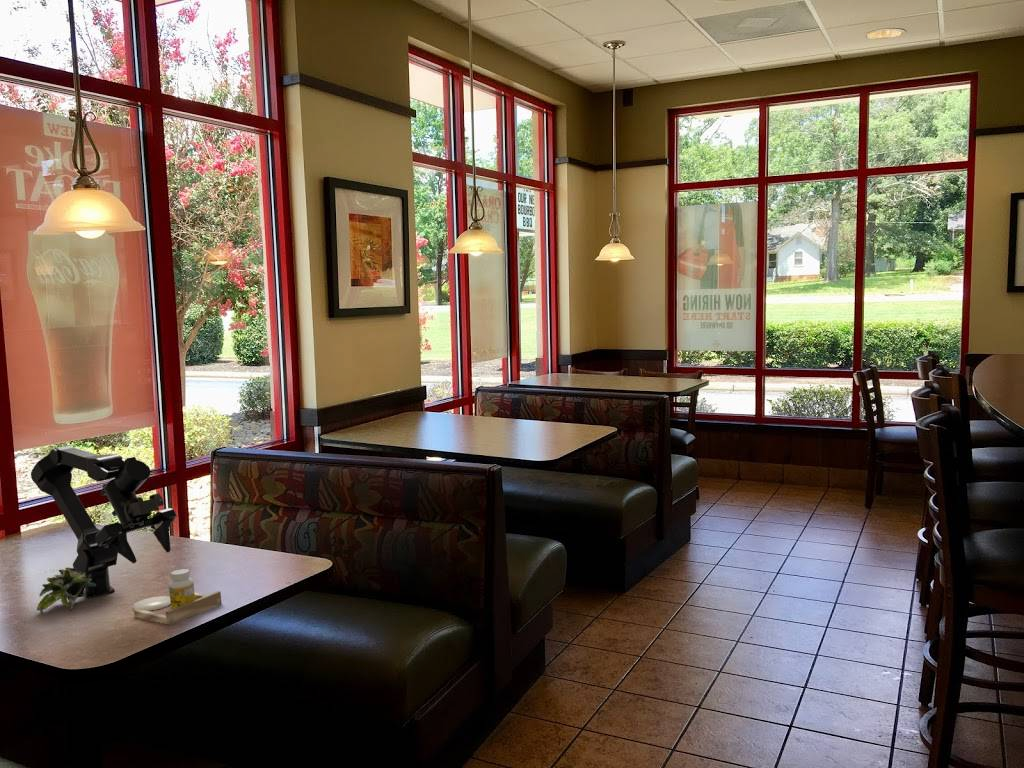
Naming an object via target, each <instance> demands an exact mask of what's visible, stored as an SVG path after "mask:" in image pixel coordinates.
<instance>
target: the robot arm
mask: <svg viewBox="0 0 1024 768" xmlns="http://www.w3.org/2000/svg"><path fill="white" fill-rule="evenodd" d="M74 469H77V470H81V471H83V472H85V473H87V477H88V478H89V479H91V480H93V481H95V482H97V483H98V482H103V481H108V480H109V481H108V482H106V483H104V484H102V488H101V491H100V496H102V497H103V496H106V497H107V498H108V501H109V502H110V505H111V506H112V508H113V511H112V512H111V515H112V516H113V517H117V518H118V519H117V520H118V521H116V522H113V523H109V524H105V525H104V526H103V527H101V528H100V529H98V528H97V526H96V525H95V523H94V521H93V520H92V518H91V516H90V514H89V513H88V512H87V510H86V508H85V506H84V505H83V502H82V501H81V500H80V498H79V497H78V495H77V494H76V491H75V490H74V488H73V487H72V480H73V479H72V478H73V474H72V472H73V470H74ZM150 475H151V469H150V467H149V465H147V464H146V463H145V462H144V461H141V460H139V459H137V458H136V456H130V457H127V458H126V459H125V458H123V457H122V456H121V455H120V454H117V453H115V454H114V453H113V454H112V453H108V454H107V453H106V454H96V453H93V452H90V451H87V450H82V449H79V448H76V447H74V446H72V445H64V446H60V447H55V448H53V449H51V450H50V452H49V453H48V454H47V455H45V456H44V457H43V458H41V459H40V460H39V461H37V462H36V463H35V465H34V466H33V468H32V469H31V472H30V478H31V480H32V482H34V484H35V485H36V487H37V488H38V489H39V491H41V492H43V493H44V494H47V495H49V496H51V497H52V498H53V500H54V502H55V504H56V505H57V507H58V509H59V511H60V512H61V514H62V515H63V517H64V519H65V520H66V522H67V524H68V525H69V527H70V528H71V531H72V532H73V534H74V535H75V537H76V539H77V543H76V544H77V545H76V546H77V547H76V553H77V556H76V558H75V559H74V561H73V563H72V568H76V569H77V572H78V571H81V573H83V572H86V575H87V576H86V577H88V576H89V575H90V574H91V577H90V579H92V580H91V581H90V582H93V583H96V586H95V587H86V588H85V589H84V591H83V593H84V595H83V596H84V597H86V598H87V599H88V598H93V597H97V596H101V595H106V594H110V593H114V592H115V591H116V590H115V588H114V587H113V586H111V582H110V574H109V573H110V571H109V567H112V566H116V565H117V560H118V555H120V556H122V557H123V558H125V559H126V560H128V561H129V562H131V564H136V563H137V562H138V561H137V557H136V556H135V554H134V551H133V549H132V547H131V546H130V543H129V541H128V536H127V535H128V533H131V532H135V531H138V530H141V529H145V528H149V527H151V529H153V530H154V531H153V532H152V534H153V535H154V536H155V538H156V539H157V541H158V543H159V544H160V545H161V547H162V548H163V549H164V550H165V553H170V552H171V551H172V550H171V539H170V527H171V525H172V524H173V523H174V521H175V520H176V518H177V517H178V514H177V513H176V510H175V509H174V508H171V507H170V508H165V509H161V510H160V507H161V506H164V499H163V497H162V495H161V494H160V493H159V492H158V493H153V494H152V495H149V496H148V497H149V499H145V500H144V499H143V498H142V496H139V497H137V495H136V491H137V490H138V489H139V488H141V486H142V485H143V484H144V483H145V482H146V481H147V479H149V477H150ZM153 512H156V513H155V514H154V515H153ZM151 515H152V517H150V516H151ZM148 517H149V518H148Z"/></svg>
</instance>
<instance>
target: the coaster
mask: <svg viewBox="0 0 1024 768" xmlns="http://www.w3.org/2000/svg"><path fill="white" fill-rule="evenodd" d="M170 604H171V602H170V596H165V595H163V596H162V595H161V596H160V595H159V596H152V597H148V598H144V599H142V600H139V601H137V602H136V603H134V604H133V605H132V610H133V609H134V610H133V611H135V610H137V609H141V610H146V611H150V612H153V611H152V610H154V611H157V609H159V610H161V608H162V609H165V608H167V607H169V606H171V605H170ZM168 605H169V606H168ZM166 606H167V607H166ZM164 607H165V608H164Z"/></svg>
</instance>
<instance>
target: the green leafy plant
mask: <svg viewBox="0 0 1024 768" xmlns="http://www.w3.org/2000/svg"><path fill="white" fill-rule="evenodd" d="M58 572H59V574H54V575H53V576H51V577H46V581H47V582H48V583H44V584H42V587H43V588H42V589H41V591H40V592H39V598H40V597H42V596H43V595H44V596H43V598H42V599H41V600H40V601H39V602H38V605H37V606H36V610H37V612H38V611H39V613H42V612H43V610H46V609H48V608H49V607H51V606H52V605H54V603H56V602H58V601H59V600H60V601H61V603H62V604H63V605H64V606H65V607H69V606H70V605H69V603H70V604H71V606H70V607H71V608H70V610H69V611H70V612H72V611H73V608H74V605H75V602H76V600H77V599H78V598H83V597H84V596H85V595H84V593H83V591H84V589H85V588H86V587H95V586H96V583H93V582H90V581H91V580H92V579H90V577H91V574H90V575H89V576H88V577H86V576H87V575H86V572H83V573H81V571H78V572H77V569H76V568H73V567H65V569H59V570H58ZM47 592H48V593H47ZM46 593H47V594H46ZM68 601H69V602H68ZM41 611H42V612H41Z"/></svg>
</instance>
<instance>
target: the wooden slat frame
mask: <svg viewBox="0 0 1024 768" xmlns="http://www.w3.org/2000/svg"><path fill="white" fill-rule="evenodd" d="M194 593H195V600H194V601H191V602H189V603H186V604H184V605H181V606H179V607H176V608H174V609H171V608H170V610H166V611H165V614H161V613H158V612H155V611H146V610H141V609H137V610H133V612H134V614H133V615H134V617H135V618H137V617H138V619H141V618H142V619H141V620H145V619H147V620H146V621H150V620H152V621H151V622H154V621H156V622H155V623H158V622H160V623H159V624H162V623H165V624H164V625H166V624H169V625H168V626H172V625H174V624H177V623H179V622H181V621H184V620H186V619H188V617H189V618H191V617H193V616H196V615H198V614H200V612H201V613H203V612H205V611H208V610H210V609H213V608H214V607H217V606H220V605H221V604H222V593H221V591H219V590H216V591H214V592H212V593H209V594H206V593H200V592H196V591H194ZM219 604H220V605H219ZM195 614H196V615H195ZM190 616H191V617H190ZM185 618H186V619H185ZM183 619H184V620H183ZM180 620H181V621H180ZM178 621H179V622H178ZM176 622H177V623H176ZM173 623H174V624H173ZM171 624H172V625H171Z"/></svg>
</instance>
